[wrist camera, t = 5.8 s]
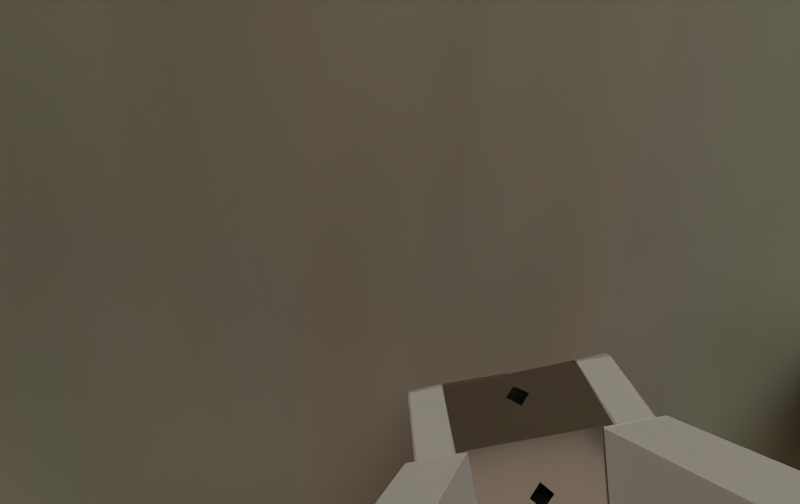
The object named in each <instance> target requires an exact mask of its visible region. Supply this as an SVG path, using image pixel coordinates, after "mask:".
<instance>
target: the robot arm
mask: <svg viewBox="0 0 800 504" xmlns="http://www.w3.org/2000/svg"><path fill="white" fill-rule="evenodd" d="M443 390H444V392H443ZM444 396H445V397H444ZM445 401H446V402H445ZM408 402H409V412H410V422H411V432H412V442H413V452H414V462H409V463H405V464H404V465H403V466H402V468H401V469H400V470H399V472H398V473H397V474H396V476H395V477H394V478H393V480H392V481H391V482H390V484H389V485H388V487H387V488H386V489H385V491H384V492H383V493H382V495H381V496H380V497H379V499H378V500H377V501H376V503H375V504H800V471H799V470H797V469H794V468H792V467H790V466H787V465H785V464H782V463H780V462H778V461H775V460H773V459H770V458H768V457H766V456H763V455H761V454H758V453H756V452H754V451H751V450H749V449H746V448H744V447H742V446H739V445H737V444H734V443H732V442H730V441H727V440H725V439H722V438H720V437H718V436H715V435H713V434H710V433H708V432H706V431H703V430H701V429H698V428H696V427H694V426H691V425H689V424H686V423H684V422H682V421H679V420H677V419H674V418H672V417H670V416H667V415H666V416H660V417H656V416H655V415H654V413H653V412H652V411H651V409H650V408H649V407H648V405H647V404H646V403H645V401H644V400H643V399H642V397H641V396H640V395H639V393H638V392H637V391H636V389H635V388H634V386H633V385H632V384H631V382H630V381H629V380H628V378H627V377H626V376H625V374H624V373H623V372H622V370H621V369H620V368H619V366H618V365H617V364H616V362H615V361H614V360H613V358H612V357H611V356H610V355H608V354H606V353H602V354H598V355H593V356H589V357H584V358H580V359H576V360H572V361H568V362H564V363H559V364H554V365H549V366H544V367H540V368H535V369H530V370H525V371H520V372H515V373H511V374H508V373H505V374H499V375H493V376H487V377H481V378H475V379H469V380H463V381H457V382H451V383H445V384H443V388H442V386H441V385H440V384H438V385H433V386H427V387H422V388H417V389H412V390H409V393H408Z"/></svg>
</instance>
